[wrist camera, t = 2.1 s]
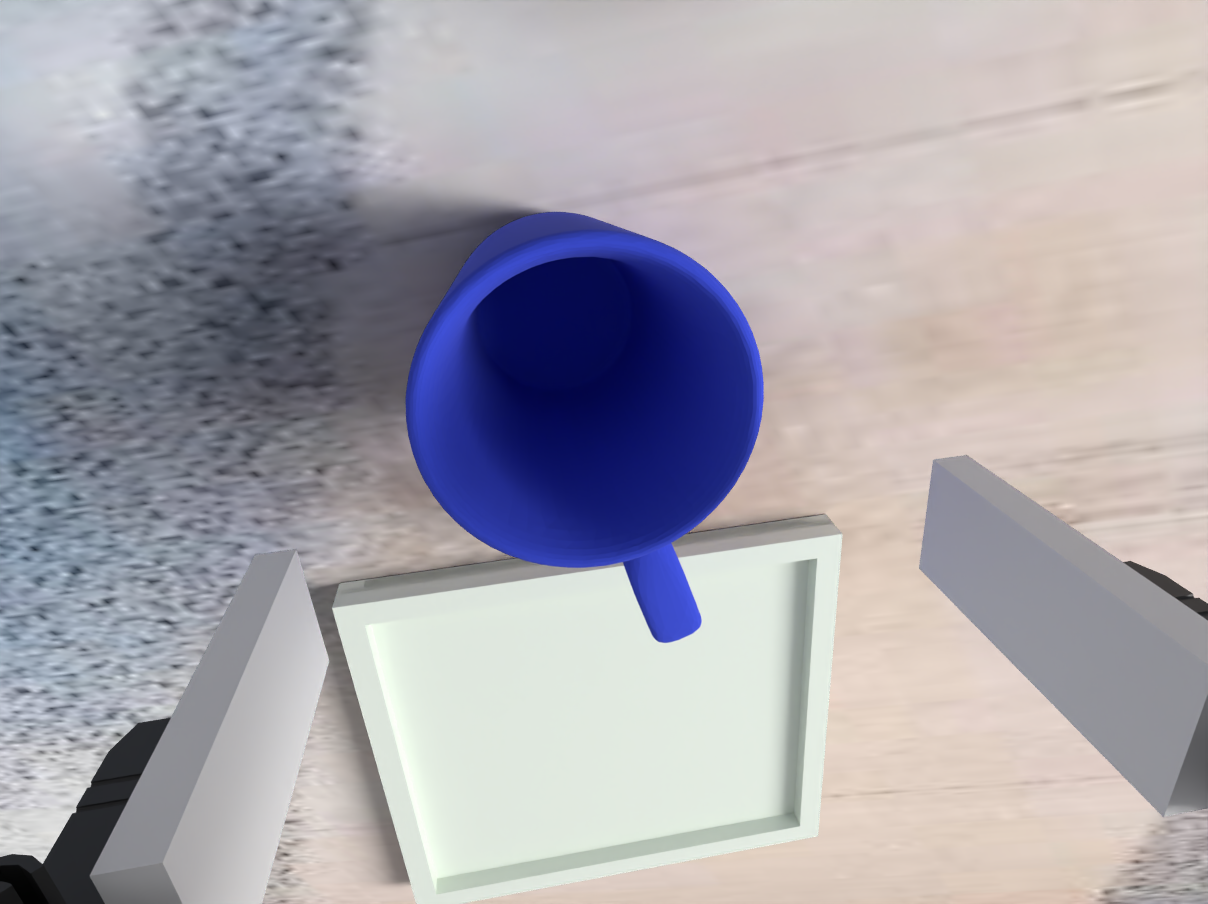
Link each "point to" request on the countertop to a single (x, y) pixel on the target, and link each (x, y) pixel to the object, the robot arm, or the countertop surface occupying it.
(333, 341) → the countertop surface
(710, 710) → the tray
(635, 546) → the mug
